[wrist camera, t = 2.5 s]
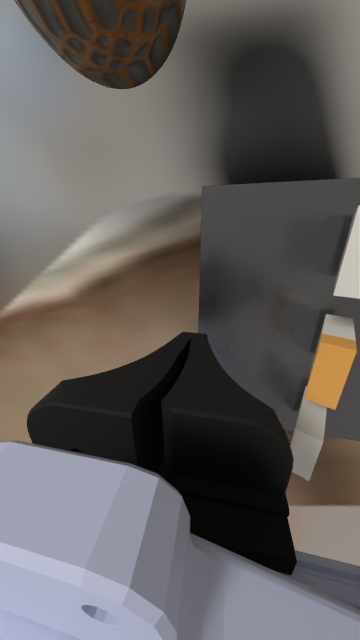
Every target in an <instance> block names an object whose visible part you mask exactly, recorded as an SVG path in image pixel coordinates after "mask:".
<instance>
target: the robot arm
mask: <svg viewBox="0 0 360 640" xmlns="http://www.w3.org/2000/svg"><path fill="white" fill-rule="evenodd" d="M27 428H28V432H29V435H30V438H31V440H32V443H33V444H32V443H27V442H22V441H0V640H360V566H356V565H352V564H348V563H344V562H340V561H335V560H332V559H328V558H324V557H320V556H316V555H311V554H307V553H303V552H299V551H295V550H294V545H293V541H292V536H291V532H290V528H289V523H288V519H287V517H288V516H289V507H288V502H287V498H286V494H285V492H286V489H287V486H288V482H289V479H290V476H291V473H292V469H293V460H294V457H293V454H292V450H291V447H290V443H289V441H288V438H287V436H286V433H285V431H284V429H283V427H282V425H281V423H280V421H279V419H278V417H277V415H276V413H275V411H274V409H273V408H271V407H269V406H268V405H266V404H265V403H263V402H262V401H260V400H258V399H257V398H255V397H254V396H252V395H251V394H250V393H248V392H247V391H246V390H244V389H243V388H242V387H241V386H239V385H238V384H237V383H236V382H235V381H234V380H233V379H232V378H231V377H230V376H229V375H228V374H227V373H226V371H225V370H224V369H223V368H222V366H221V365H220V363H219V362H218V360H217V359H216V357H215V355H214V353H213V351H212V349H211V347H210V345H209V342H208V336H207V335H206V334H203V333H190V332H182V333H181V334H179V335H178V336H177V337H175V338H174V339H173V340H171V341H170V342H168V343H167V344H166V345H164V346H162V347H161V348H159V349H158V350H156V351H154V352H153V353H151V354H149V355H147V356H145V357H143V358H141V359H139V360H137V361H135V362H132V363H130V364H127V365H124V366H122V367H119V368H116V369H113V370H109V371H106V372H102V373H99V374H95V375H90V376H85V377H80V378H75V379H70V380H63V381H61V382H60V383H59V384H58V385H57V386H56V387H55V388H54V389H53V390H51V391H50V392H49V393H48V394H47V395H46V396H45V397H44V398H43V399H42V400H40V401H39V402H38V403H37V404H36V405H35V406H34V407H33V408H32V409H31V410H30V412H29V414H28V417H27Z"/></svg>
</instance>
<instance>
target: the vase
mask: <svg viewBox="0 0 360 640" xmlns="http://www.w3.org/2000/svg"><path fill="white" fill-rule="evenodd" d="M15 2H16V3H17V5H18V6H19V8H20V9H21V11H22V12H23V14H24V15H25V16H26V18H27V19H28V20H29V22H30V23H31V24H32V26H33V27H34V28H35V30H36V31H37V32H38V33H39V34H40V35H41V37H42V38H43V39H44V40H45V41H46V42H47V43H48V45H49V46H50V47H51V48H52V49H53V50H54V51H55V52H56V53H57V54H58V55H59V56H60V57H61V58H62V59H63V60H65V62H67V63H68V64H69V65H70V66H71V67H72V68H74V69H75V70H76V71H77V72H79V73H80V74H82V75H83V76H85V77H86V78H88V79H90V80H92V81H93V82H96V83H98V84H101V85H103V86H106V87H110V88H117V89H129V88H133V87H136V86H139V85H141V84H143V83H144V82H146V81H147V80H148V79H150V78H151V77H152V76H153V75H154V74H156V72H157V71H158V70H159V69H160V68H161V67H162V65H163V64H164V62H165V61H166V59H167V58H168V56H169V54H170V52H171V50H172V48H173V45H174V43H175V41H176V38H177V35H178V32H179V29H180V25H181V21H182V18H183V13H184V9H185V3H186V0H15Z"/></svg>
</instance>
